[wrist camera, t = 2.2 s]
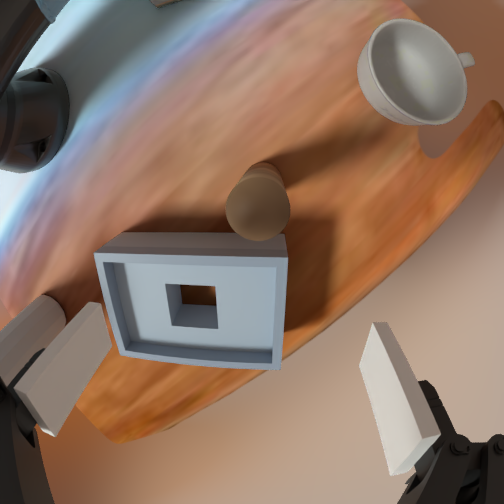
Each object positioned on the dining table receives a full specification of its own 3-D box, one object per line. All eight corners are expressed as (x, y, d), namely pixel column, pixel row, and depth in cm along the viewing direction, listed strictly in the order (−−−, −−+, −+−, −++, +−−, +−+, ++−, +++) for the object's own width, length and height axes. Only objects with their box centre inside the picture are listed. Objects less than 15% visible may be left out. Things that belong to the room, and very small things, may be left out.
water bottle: (56, 289, 38) (-44, 389, 15) (75, 330, 41) (-5, 436, 18) (26, 292, 39) (-63, 376, 16) (43, 329, 42) (-32, 418, 19)
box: (122, 232, 34) (93, 252, 28) (284, 233, 33) (288, 257, 27) (139, 324, 39) (120, 355, 33) (279, 333, 38) (280, 369, 32)
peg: (244, 162, 30) (224, 178, 17) (281, 162, 30) (291, 178, 17) (244, 198, 32) (226, 240, 19) (281, 198, 32) (289, 241, 19)
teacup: (361, 132, 28) (389, 131, 21) (334, 42, 25) (353, 16, 17) (457, 120, 26) (497, 120, 19) (435, 39, 22) (469, 23, 15)
